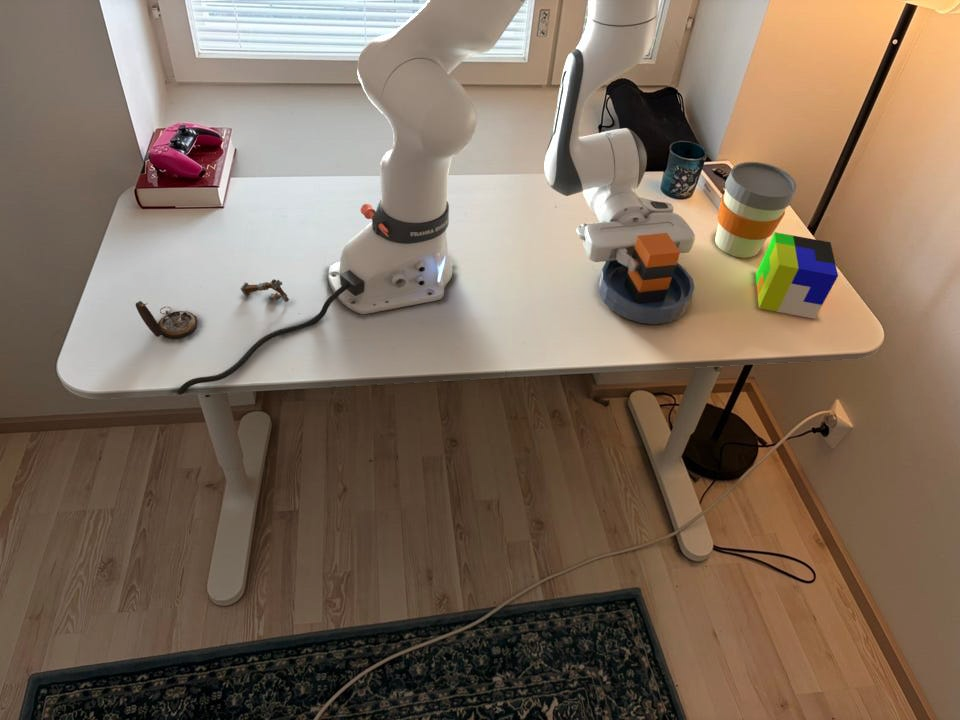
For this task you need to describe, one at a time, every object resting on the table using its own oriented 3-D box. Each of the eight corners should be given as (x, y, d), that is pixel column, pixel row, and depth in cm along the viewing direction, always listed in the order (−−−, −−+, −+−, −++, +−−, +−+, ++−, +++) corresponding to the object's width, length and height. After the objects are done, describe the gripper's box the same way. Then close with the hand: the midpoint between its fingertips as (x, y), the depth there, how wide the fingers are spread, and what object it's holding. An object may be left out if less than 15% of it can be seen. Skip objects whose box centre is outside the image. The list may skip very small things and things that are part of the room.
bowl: (638, 337, 124) (643, 320, 121) (580, 282, 133) (583, 265, 130) (706, 308, 131) (713, 291, 128) (646, 258, 140) (651, 241, 137)
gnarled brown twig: (290, 303, 122) (276, 282, 119) (253, 308, 125) (239, 287, 123) (294, 296, 123) (281, 275, 121) (258, 301, 127) (244, 281, 124)
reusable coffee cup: (695, 244, 144) (718, 179, 133) (721, 218, 151) (745, 154, 141) (754, 271, 139) (783, 206, 128) (778, 243, 147) (807, 178, 136)
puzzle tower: (635, 304, 129) (650, 255, 121) (624, 284, 133) (637, 235, 125) (664, 300, 130) (680, 252, 122) (652, 280, 134) (667, 232, 126)
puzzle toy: (814, 318, 131) (838, 275, 124) (758, 308, 132) (779, 265, 124) (808, 284, 138) (830, 242, 130) (755, 274, 139) (774, 232, 131)
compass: (206, 329, 118) (196, 295, 112) (159, 350, 114) (147, 316, 108) (182, 303, 121) (172, 269, 116) (136, 323, 117) (123, 289, 112)
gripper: (576, 211, 131) (603, 258, 121) (678, 202, 135) (712, 247, 126) (570, 239, 135) (596, 286, 126) (670, 230, 140) (701, 275, 130)
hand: (655, 266), depth 126 cm, fingers closed on puzzle tower, 5 cm apart
